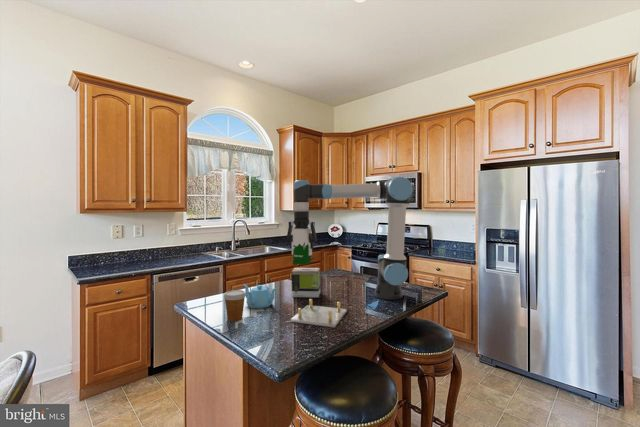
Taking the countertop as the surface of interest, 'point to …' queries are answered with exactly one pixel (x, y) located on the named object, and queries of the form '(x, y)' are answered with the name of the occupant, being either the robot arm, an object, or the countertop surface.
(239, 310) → the disposable coffee cup
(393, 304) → the countertop surface
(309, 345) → the countertop surface
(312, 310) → the white flat square slab
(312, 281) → the tea box
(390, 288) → the robot arm
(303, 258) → the milk carton
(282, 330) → the countertop surface
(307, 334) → the countertop surface
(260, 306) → the teapot
